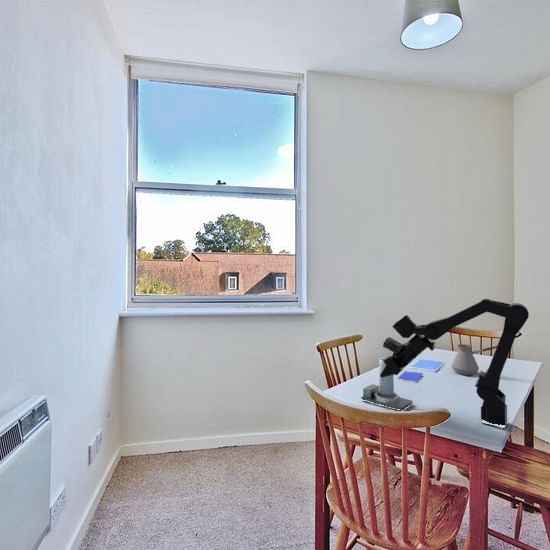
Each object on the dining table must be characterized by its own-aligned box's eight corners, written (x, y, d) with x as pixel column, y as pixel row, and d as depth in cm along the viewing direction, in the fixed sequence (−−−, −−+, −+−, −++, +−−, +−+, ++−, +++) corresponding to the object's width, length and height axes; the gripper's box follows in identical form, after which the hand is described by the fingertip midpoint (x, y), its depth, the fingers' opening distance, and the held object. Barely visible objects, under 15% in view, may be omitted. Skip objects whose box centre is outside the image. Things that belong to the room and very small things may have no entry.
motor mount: (412, 404, 132) (412, 392, 132) (402, 411, 126) (402, 399, 126) (372, 394, 143) (372, 383, 143) (361, 400, 137) (361, 389, 137)
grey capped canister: (394, 391, 136) (394, 357, 136) (392, 395, 131) (392, 360, 131) (380, 389, 138) (380, 355, 138) (378, 394, 133) (378, 358, 133)
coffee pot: (449, 373, 170) (448, 342, 169) (454, 368, 179) (453, 338, 179) (502, 381, 157) (502, 347, 157) (505, 375, 166) (504, 342, 166)
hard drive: (404, 370, 173) (397, 377, 162) (422, 373, 168) (416, 380, 158) (404, 374, 173) (397, 380, 163) (422, 376, 168) (416, 383, 158)
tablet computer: (419, 361, 196) (419, 358, 196) (444, 364, 188) (444, 361, 188) (409, 369, 180) (409, 366, 180) (436, 373, 173) (436, 370, 173)
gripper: (403, 327, 140) (375, 352, 146) (389, 335, 124) (359, 363, 131) (425, 349, 136) (395, 375, 142) (413, 360, 120) (381, 388, 126)
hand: (382, 374), depth 135 cm, fingers closed on grey capped canister, 5 cm apart
